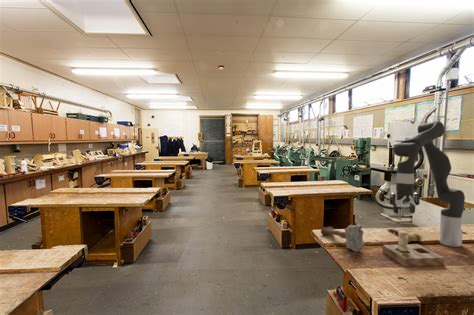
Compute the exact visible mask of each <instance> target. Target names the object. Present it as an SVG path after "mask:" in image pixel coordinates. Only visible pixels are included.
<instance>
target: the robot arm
mask: <svg viewBox="0 0 474 315" xmlns="http://www.w3.org/2000/svg"><path fill="white" fill-rule="evenodd" d="M445 131H446V129H445V125H444V123H443V122H441V121H431V122H426V123H421V124H419V125H418V127H417V134H415V135H413V136H411V137H410V138H408V139H405V140H402V141H400V142H397V144H395V145H394V147H393V153H394V155H395V156H397V157H401V158H403V157H404V158H406V157H407V159H406V160H403V161H399V162H398V163H397V167H396V168H397V169H396V182H395V183H396V184H395V190H396V193H393V192H390V195H389V201H388V202H389V205H391V206H393V210H392V211H393V213H394V214H397V215H398V214H399V206H400V204H402V203H408V204H409V213H410V214H415V213H416V207H417V206H419V205H420V193H418V192H415V165H416V161H417V158H418V156H419V153H420V149H422V148H423V149H424V151H425V153H426V158H427V161H428V164H429V168H430V170H431V173H432V176H433V180H434V185H435V188H436V195H437V199H439V201H440V202H441V203H444V204H449V208H442V209H441V210H440V219H439V220H440V222H439V225H440V227H439V243H440V244H442V245H443V246H448V247H453V248H459V247H462V245H463V229H462V217H463V216H462V215H463V213H464V210H465V208H464V207H465V200H466V197H465V192H463V190H460V189H456V188H449V185H448V177H449V175H450V173H451V171H452V164H451V161H450V159H449V156H448V155H447V154H446V153H445V152H443V151H442V150H441V149H440V148H438V147H437V146H435V144H434V143H433V141H434V140H437V139H438V138H442V137H443V136H444V134H445Z"/></svg>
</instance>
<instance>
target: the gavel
mask: <svg viewBox="0 0 474 315" xmlns="http://www.w3.org/2000/svg"><path fill="white" fill-rule="evenodd" d="M387 231H388V232H390V231H391V232H394V233H395V234H394V233H393V234H394V235H396V234H397V235H396V236H398V232H399V231H400V230H396V229H392V228H387ZM391 232H390V233H391ZM422 240H423V239H422V236H421V234H419V233H414V234H408V243H412V242H411V241H415V242H417V241H420V242H422Z"/></svg>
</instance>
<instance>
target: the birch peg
mask: <svg viewBox="0 0 474 315" xmlns="http://www.w3.org/2000/svg"><path fill="white" fill-rule="evenodd" d="M398 231H399V232H398V235H397V236H398V237H397V238H398V239H397V240H398V241H397V245H398V251H399V252H400V253H407V252H408V250H407V246H408V243H409V242H408V235H409V233H408V231H405V230H398Z"/></svg>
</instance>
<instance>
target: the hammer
mask: <svg viewBox="0 0 474 315" xmlns="http://www.w3.org/2000/svg"><path fill="white" fill-rule="evenodd" d="M320 233H321V235H322V234H323V236H327V235H330V234H331V235H335V236H337V237H340V238H341V239H345V241H344V244H345V246H346V248H347V249H348V250H351V251H354V252H358V253H359V252H360V251H362V250H363V249H364V248H365V242H364V241H363V239H364V238H363V235H364V231H363V229H362V227H361V226H360V225H359V224H349V225H348V226H347V227H346V228H344V231H340V230H336V229H334V227H332V226H327V227H325V226H324V227H321V230H320Z"/></svg>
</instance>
